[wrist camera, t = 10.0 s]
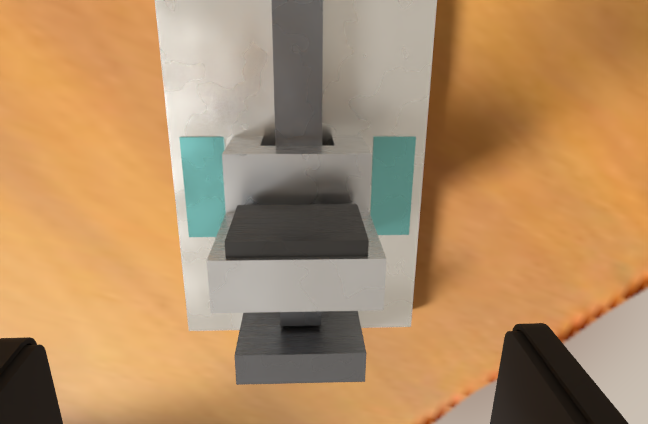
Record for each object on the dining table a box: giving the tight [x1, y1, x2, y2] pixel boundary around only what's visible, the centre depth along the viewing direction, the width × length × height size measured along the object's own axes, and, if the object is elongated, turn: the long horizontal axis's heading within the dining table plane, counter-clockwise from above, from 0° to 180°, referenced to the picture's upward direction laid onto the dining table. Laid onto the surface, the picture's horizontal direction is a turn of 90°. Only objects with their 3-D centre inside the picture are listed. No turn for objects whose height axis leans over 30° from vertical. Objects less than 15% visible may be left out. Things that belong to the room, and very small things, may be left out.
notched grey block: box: [207, 136, 387, 313], centre depth 20 cm, size 5×6×8 cm
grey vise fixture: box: [155, 0, 437, 385], centre depth 19 cm, size 29×12×10 cm, turn 179°
